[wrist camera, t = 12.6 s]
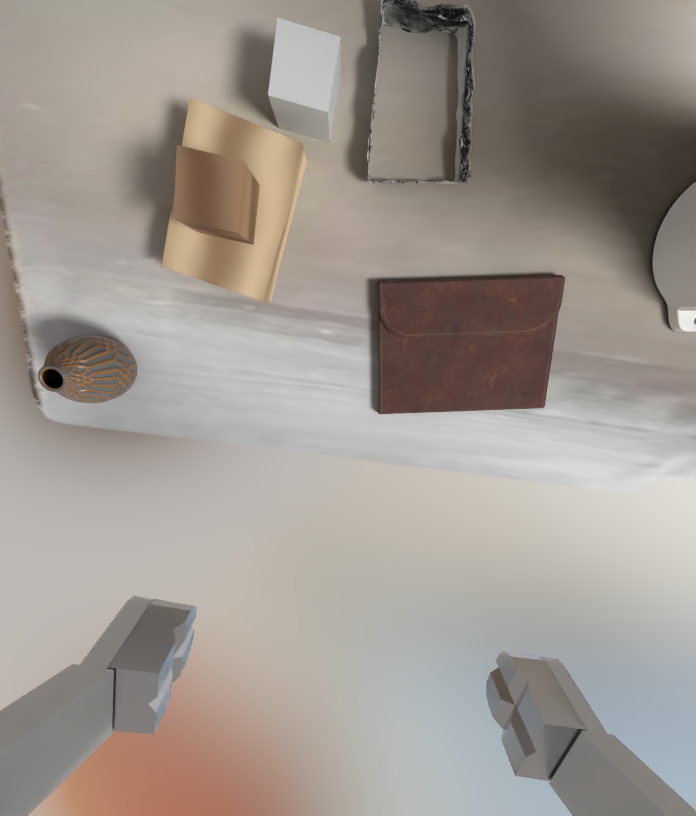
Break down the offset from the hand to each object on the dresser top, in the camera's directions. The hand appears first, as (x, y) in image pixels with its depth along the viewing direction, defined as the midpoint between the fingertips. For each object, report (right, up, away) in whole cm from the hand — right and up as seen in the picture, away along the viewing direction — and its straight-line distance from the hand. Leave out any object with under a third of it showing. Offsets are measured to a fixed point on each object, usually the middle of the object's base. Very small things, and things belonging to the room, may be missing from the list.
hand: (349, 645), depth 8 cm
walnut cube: (-11, +25, +21) cm, 34 cm away
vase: (-27, +11, +29) cm, 41 cm away
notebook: (+13, +13, +30) cm, 35 cm away
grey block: (-4, +35, +22) cm, 42 cm away
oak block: (-11, +26, +25) cm, 38 cm away
